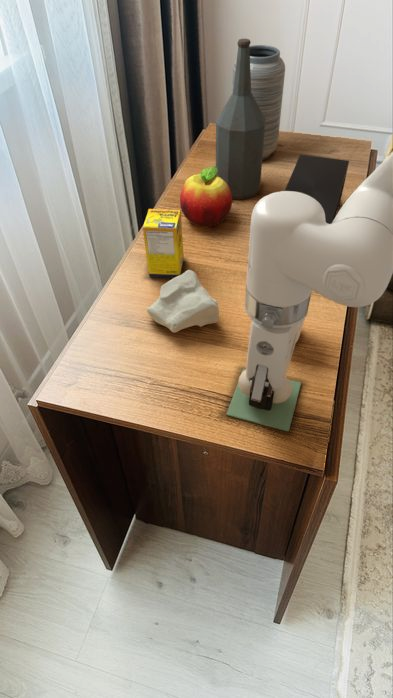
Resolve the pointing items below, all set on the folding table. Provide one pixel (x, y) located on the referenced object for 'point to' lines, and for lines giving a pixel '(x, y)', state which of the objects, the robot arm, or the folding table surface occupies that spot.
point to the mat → (274, 418)
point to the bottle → (240, 133)
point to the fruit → (206, 198)
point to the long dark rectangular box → (320, 181)
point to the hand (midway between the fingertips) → (264, 392)
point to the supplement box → (163, 242)
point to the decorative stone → (184, 304)
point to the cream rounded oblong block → (279, 394)
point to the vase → (267, 90)
